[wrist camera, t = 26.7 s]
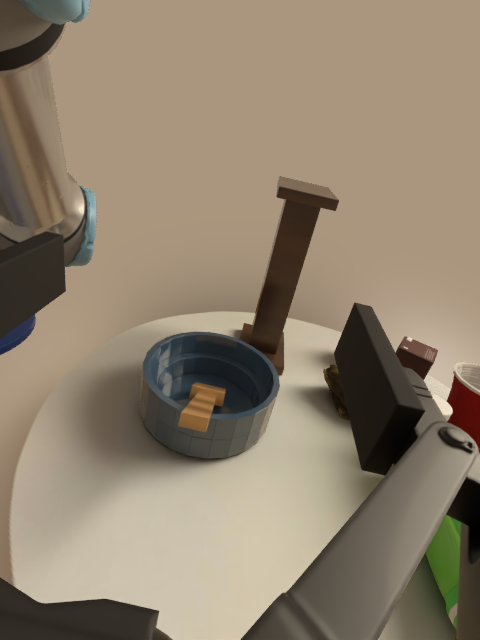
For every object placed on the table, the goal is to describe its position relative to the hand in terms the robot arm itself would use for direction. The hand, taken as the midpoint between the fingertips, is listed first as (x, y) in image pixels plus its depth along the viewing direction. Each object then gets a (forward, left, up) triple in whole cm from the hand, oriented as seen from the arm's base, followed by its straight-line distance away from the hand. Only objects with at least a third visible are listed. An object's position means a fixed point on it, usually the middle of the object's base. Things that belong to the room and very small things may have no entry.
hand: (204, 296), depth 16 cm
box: (-1, +53, -28) cm, 60 cm away
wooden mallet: (-10, +12, -22) cm, 26 cm away
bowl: (-15, +17, -28) cm, 36 cm away
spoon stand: (-21, +35, -28) cm, 50 cm away
